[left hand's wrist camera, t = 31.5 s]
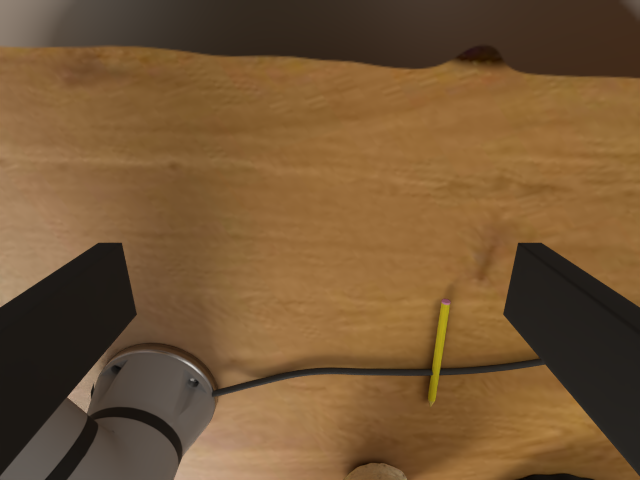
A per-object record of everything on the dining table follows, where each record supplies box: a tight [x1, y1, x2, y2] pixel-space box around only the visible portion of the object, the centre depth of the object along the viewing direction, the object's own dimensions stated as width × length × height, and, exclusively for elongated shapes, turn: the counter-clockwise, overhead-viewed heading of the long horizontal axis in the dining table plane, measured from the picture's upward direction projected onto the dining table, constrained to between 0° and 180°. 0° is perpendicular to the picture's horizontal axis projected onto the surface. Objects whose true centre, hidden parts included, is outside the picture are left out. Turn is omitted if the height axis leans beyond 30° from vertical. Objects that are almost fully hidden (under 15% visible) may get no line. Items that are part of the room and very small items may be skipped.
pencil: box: [428, 299, 450, 407], centre depth 47 cm, size 16×1×1 cm, turn 0°
